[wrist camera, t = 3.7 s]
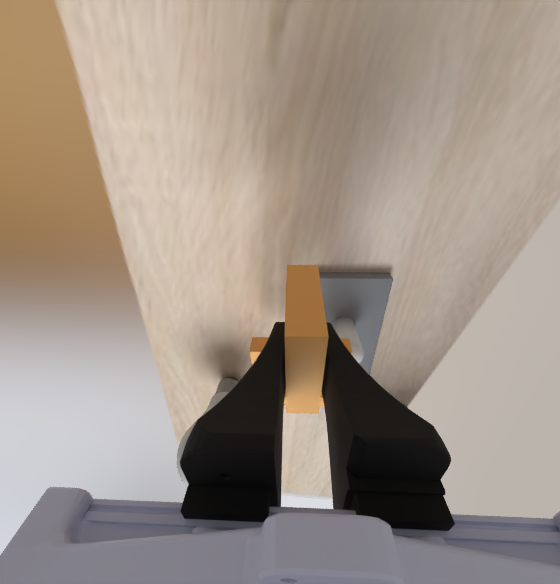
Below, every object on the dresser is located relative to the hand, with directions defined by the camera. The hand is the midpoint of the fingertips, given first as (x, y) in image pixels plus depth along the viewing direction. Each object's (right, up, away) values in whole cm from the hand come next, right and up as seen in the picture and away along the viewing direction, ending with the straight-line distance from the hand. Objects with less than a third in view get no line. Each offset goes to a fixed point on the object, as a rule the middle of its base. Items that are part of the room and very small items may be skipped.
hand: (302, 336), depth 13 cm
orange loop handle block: (0, -1, +3) cm, 4 cm away
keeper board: (+5, -2, +12) cm, 13 cm away
